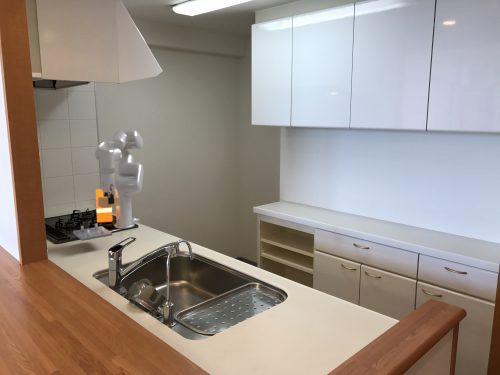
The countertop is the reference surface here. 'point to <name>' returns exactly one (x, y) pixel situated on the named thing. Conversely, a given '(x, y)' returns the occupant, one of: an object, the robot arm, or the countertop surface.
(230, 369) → the countertop surface
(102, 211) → the orange juice
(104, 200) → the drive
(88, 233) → the pin tray
